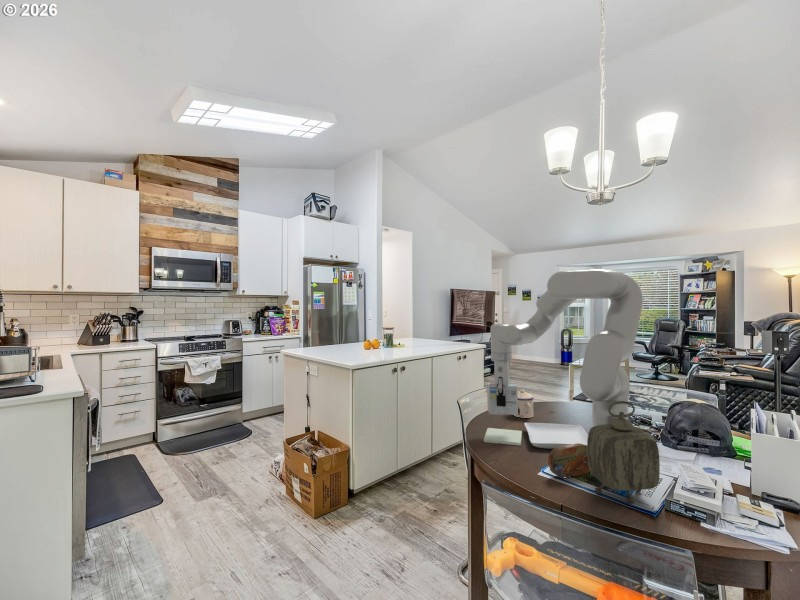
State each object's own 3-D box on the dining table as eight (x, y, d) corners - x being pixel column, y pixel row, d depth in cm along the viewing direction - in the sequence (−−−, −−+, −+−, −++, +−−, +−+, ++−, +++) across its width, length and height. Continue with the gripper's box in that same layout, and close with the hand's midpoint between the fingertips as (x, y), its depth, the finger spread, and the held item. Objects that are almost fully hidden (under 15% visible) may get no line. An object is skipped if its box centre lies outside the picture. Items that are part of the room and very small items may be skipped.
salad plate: (598, 455, 125) (597, 444, 125) (531, 451, 129) (530, 441, 129) (580, 433, 145) (580, 424, 146) (523, 430, 150) (523, 422, 150)
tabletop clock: (640, 488, 102) (637, 396, 102) (665, 507, 92) (662, 405, 93) (587, 491, 101) (585, 398, 101) (607, 509, 92) (604, 407, 92)
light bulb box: (514, 409, 145) (514, 381, 145) (518, 415, 138) (518, 385, 138) (486, 409, 146) (486, 381, 146) (489, 414, 139) (488, 385, 139)
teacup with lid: (509, 413, 171) (508, 388, 171) (528, 412, 172) (527, 387, 172) (520, 422, 159) (519, 394, 159) (540, 420, 160) (540, 393, 160)
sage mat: (520, 445, 133) (520, 442, 133) (483, 441, 138) (483, 439, 138) (521, 433, 146) (521, 430, 146) (487, 430, 150) (487, 427, 150)
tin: (554, 480, 107) (552, 451, 107) (546, 476, 110) (545, 447, 110) (596, 472, 111) (595, 443, 111) (588, 468, 114) (587, 440, 114)
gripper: (510, 360, 133) (511, 410, 132) (512, 353, 149) (513, 398, 149) (488, 359, 135) (489, 408, 135) (493, 353, 151) (494, 396, 151)
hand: (502, 402), depth 142 cm, fingers closed on light bulb box, 7 cm apart
